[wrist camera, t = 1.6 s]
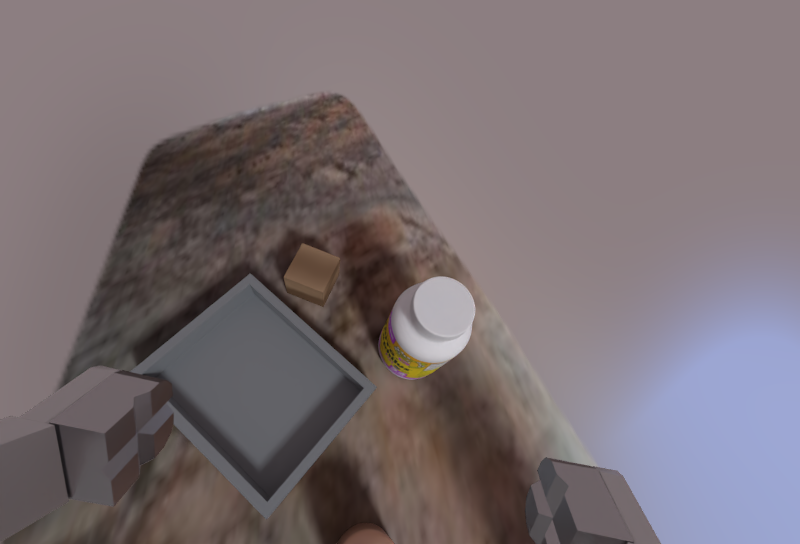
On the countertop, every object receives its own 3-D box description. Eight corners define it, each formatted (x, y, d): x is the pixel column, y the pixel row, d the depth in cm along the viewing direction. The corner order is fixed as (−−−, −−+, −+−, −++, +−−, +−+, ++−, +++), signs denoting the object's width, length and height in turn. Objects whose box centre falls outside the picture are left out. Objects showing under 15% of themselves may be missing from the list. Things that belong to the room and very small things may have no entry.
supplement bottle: (367, 330, 39) (384, 278, 27) (423, 308, 41) (461, 252, 30) (393, 392, 37) (424, 365, 25) (452, 366, 39) (504, 329, 27)
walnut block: (323, 307, 39) (323, 292, 36) (287, 292, 39) (283, 277, 36) (338, 274, 41) (340, 258, 37) (304, 261, 41) (302, 243, 37)
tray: (271, 513, 31) (266, 519, 28) (142, 381, 33) (126, 374, 31) (373, 391, 36) (376, 387, 34) (255, 285, 39) (250, 273, 36)
